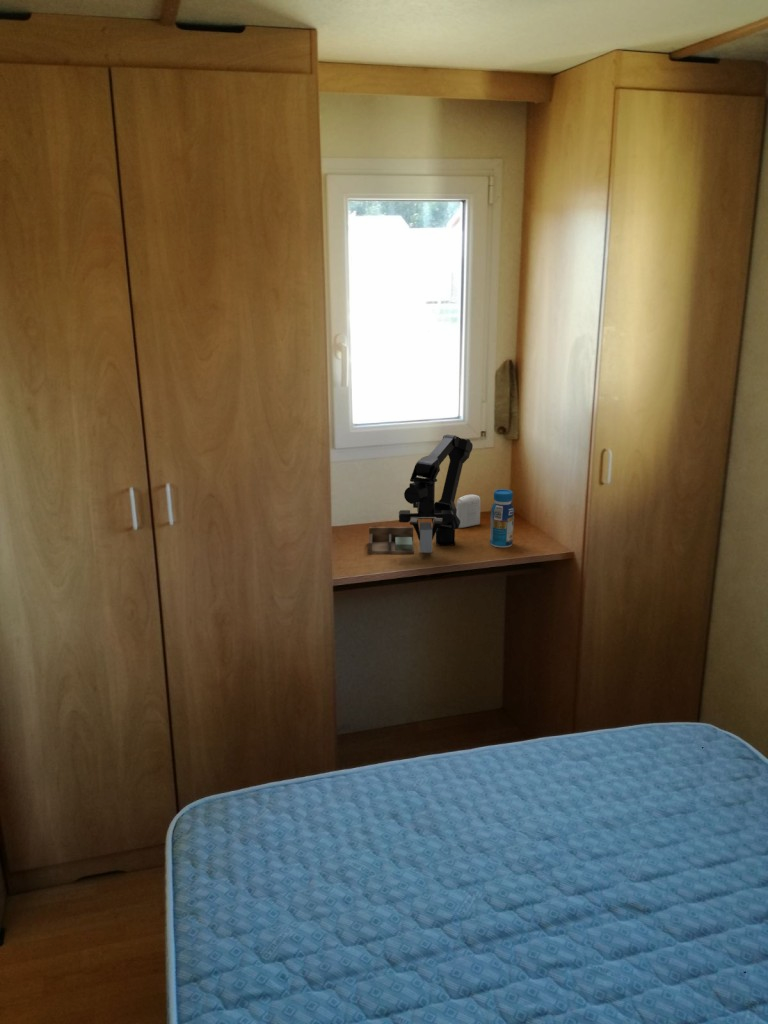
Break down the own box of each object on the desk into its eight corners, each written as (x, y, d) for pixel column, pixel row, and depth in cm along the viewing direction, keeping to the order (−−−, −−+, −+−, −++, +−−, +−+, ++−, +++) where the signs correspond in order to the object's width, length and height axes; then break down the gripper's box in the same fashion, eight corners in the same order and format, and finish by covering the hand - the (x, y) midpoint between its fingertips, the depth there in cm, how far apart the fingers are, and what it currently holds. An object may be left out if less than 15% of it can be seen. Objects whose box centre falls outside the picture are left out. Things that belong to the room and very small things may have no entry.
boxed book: (430, 543, 279) (430, 522, 276) (431, 552, 270) (432, 530, 268) (419, 543, 279) (419, 522, 276) (420, 552, 270) (420, 530, 268)
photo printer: (474, 521, 311) (475, 491, 307) (481, 524, 308) (482, 494, 304) (454, 526, 306) (454, 495, 302) (460, 529, 302) (461, 498, 299)
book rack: (413, 542, 288) (413, 526, 286) (413, 553, 276) (414, 537, 274) (369, 542, 288) (369, 526, 286) (368, 553, 276) (368, 537, 275)
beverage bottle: (485, 541, 288) (487, 489, 282) (506, 539, 291) (508, 487, 285) (495, 549, 280) (497, 495, 275) (516, 546, 283) (519, 493, 277)
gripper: (451, 490, 276) (450, 532, 281) (398, 490, 277) (398, 532, 281) (454, 499, 266) (453, 542, 270) (399, 499, 266) (398, 542, 271)
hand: (425, 539), depth 273 cm, fingers closed on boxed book, 4 cm apart
